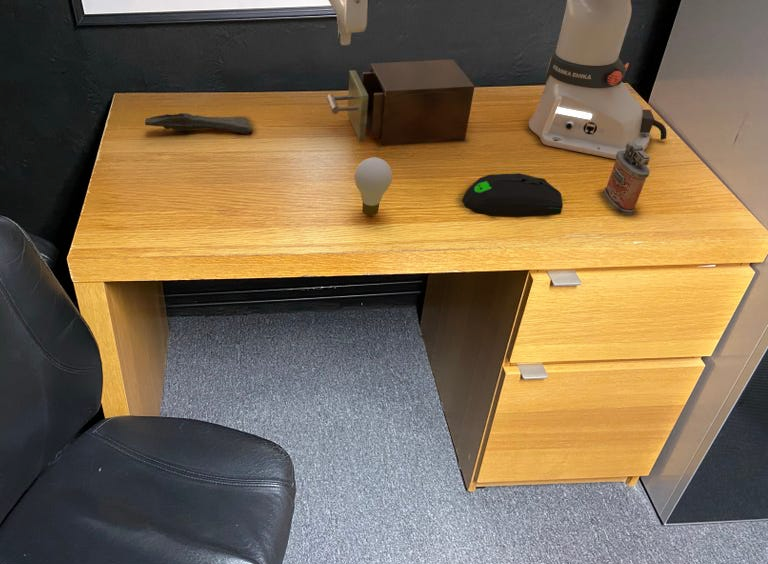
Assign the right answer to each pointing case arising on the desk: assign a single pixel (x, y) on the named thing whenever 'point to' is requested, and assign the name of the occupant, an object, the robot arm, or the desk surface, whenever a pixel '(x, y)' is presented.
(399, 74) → the cabinet
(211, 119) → the tool
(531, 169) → the desk surface
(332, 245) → the desk surface
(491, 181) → the computer mouse
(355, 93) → the drawer
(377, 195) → the light bulb
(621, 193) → the lighter
